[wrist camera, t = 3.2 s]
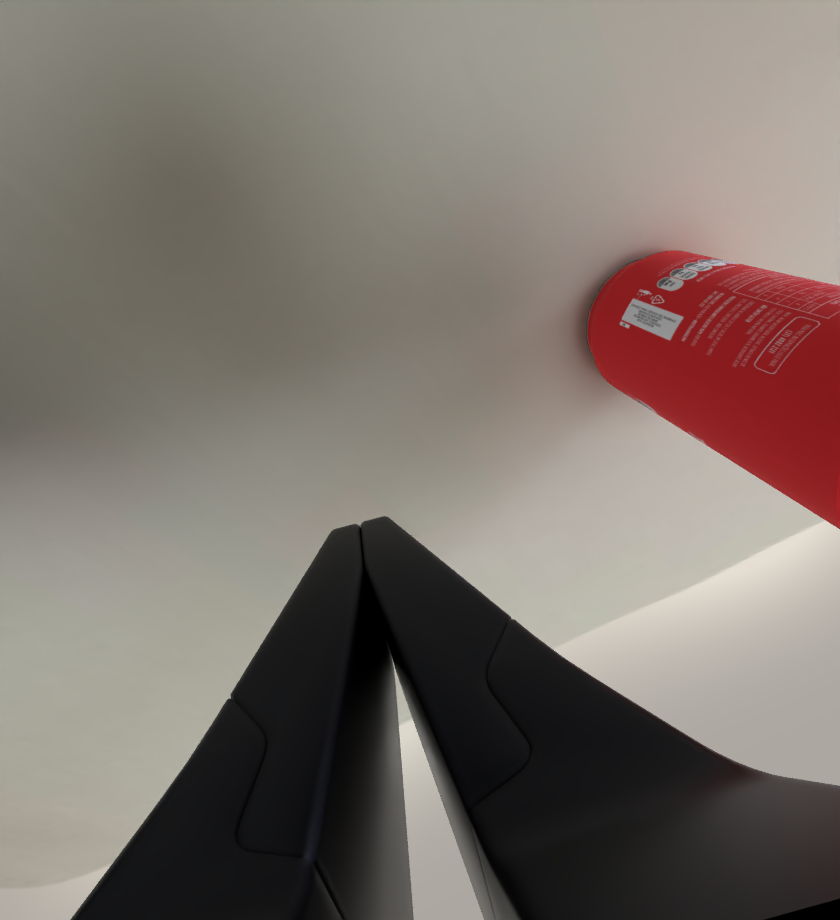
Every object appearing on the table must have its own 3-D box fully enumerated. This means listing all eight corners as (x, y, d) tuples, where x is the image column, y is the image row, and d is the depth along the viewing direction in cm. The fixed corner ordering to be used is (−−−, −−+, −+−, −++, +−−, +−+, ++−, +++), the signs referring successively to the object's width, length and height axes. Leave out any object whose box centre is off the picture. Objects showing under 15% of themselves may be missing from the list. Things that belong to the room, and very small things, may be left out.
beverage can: (713, 244, 21) (1149, 328, 11) (682, 377, 24) (1015, 548, 13) (587, 247, 20) (944, 345, 10) (568, 388, 22) (838, 584, 12)
